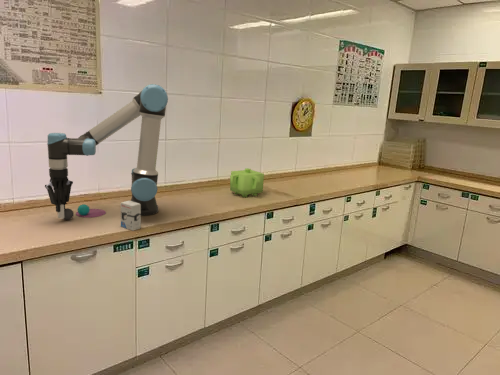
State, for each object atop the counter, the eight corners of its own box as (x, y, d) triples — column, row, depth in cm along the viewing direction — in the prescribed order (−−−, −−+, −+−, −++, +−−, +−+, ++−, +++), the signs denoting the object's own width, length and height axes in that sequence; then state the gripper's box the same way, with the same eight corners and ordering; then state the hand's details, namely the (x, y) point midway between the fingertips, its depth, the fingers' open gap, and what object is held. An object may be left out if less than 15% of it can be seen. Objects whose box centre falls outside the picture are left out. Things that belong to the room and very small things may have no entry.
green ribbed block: (250, 188, 264) (252, 164, 260) (271, 196, 247) (273, 170, 243) (220, 192, 249) (221, 166, 245) (240, 200, 232) (242, 173, 228)
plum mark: (111, 212, 194) (111, 212, 194) (89, 219, 182) (89, 218, 182) (92, 207, 200) (92, 207, 200) (69, 213, 188) (69, 213, 187)
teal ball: (84, 218, 184) (93, 213, 188) (81, 208, 182) (90, 203, 186) (76, 216, 186) (85, 211, 191) (73, 206, 184) (82, 201, 188)
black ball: (64, 219, 174) (73, 222, 179) (69, 207, 176) (77, 211, 180) (56, 217, 176) (65, 220, 181) (60, 206, 178) (69, 209, 183)
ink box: (120, 226, 175) (119, 202, 172) (128, 224, 179) (128, 200, 176) (132, 231, 170) (132, 205, 168) (141, 228, 174) (141, 203, 172)
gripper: (65, 164, 177) (67, 213, 183) (39, 168, 166) (42, 219, 171) (76, 167, 174) (78, 216, 180) (50, 171, 163) (53, 223, 168)
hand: (61, 217), depth 175 cm, fingers closed
